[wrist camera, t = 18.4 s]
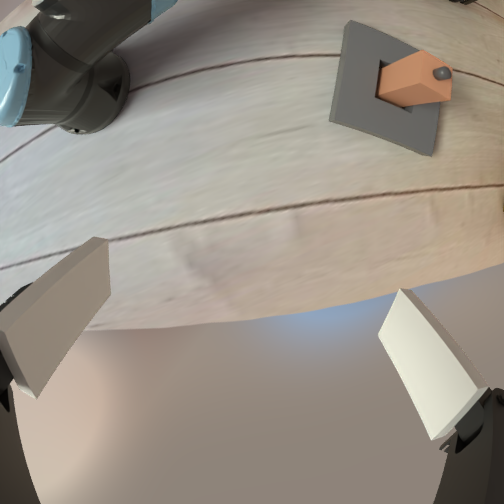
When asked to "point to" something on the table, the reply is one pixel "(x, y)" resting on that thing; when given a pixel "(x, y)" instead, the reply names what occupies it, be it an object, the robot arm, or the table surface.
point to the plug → (415, 81)
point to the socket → (364, 87)
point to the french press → (467, 1)
